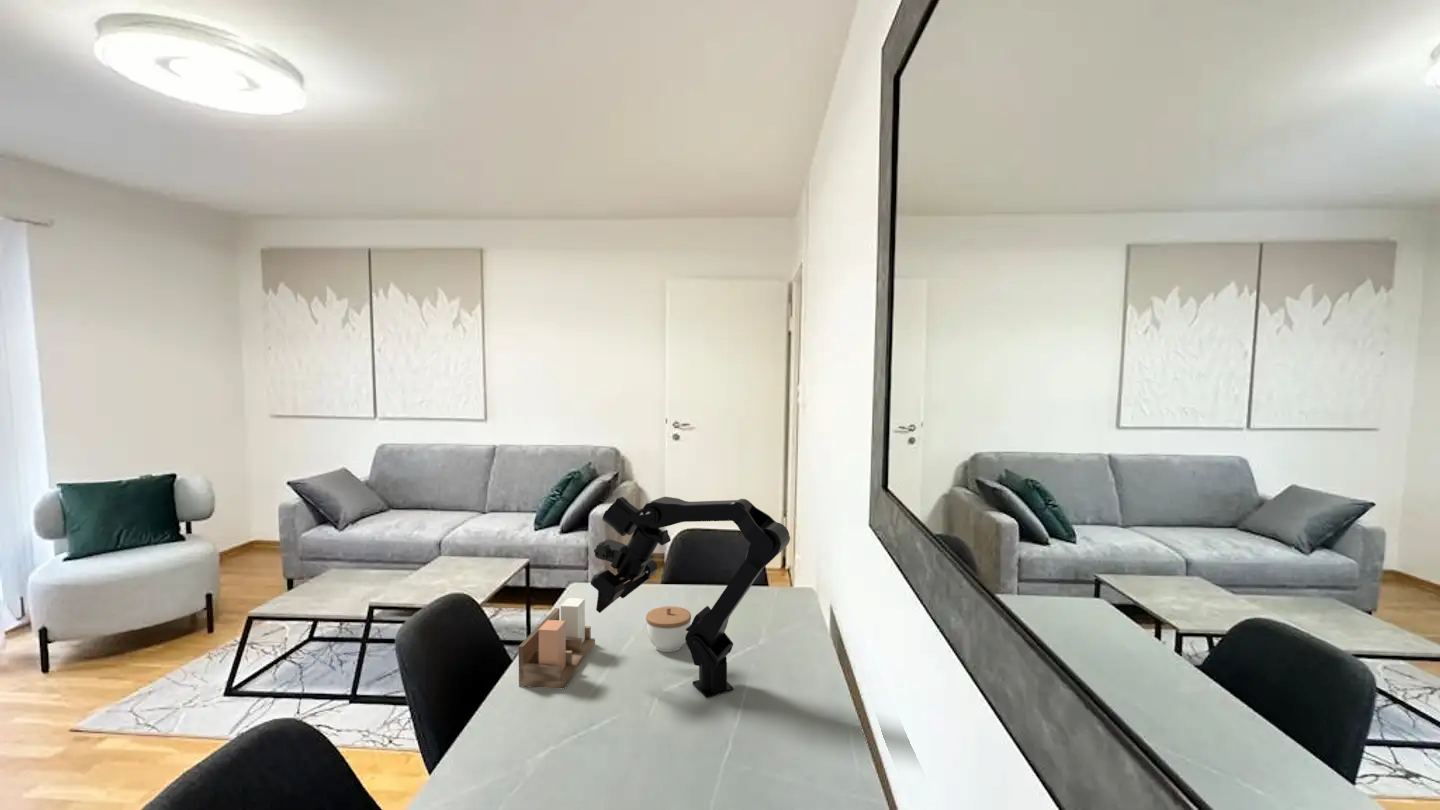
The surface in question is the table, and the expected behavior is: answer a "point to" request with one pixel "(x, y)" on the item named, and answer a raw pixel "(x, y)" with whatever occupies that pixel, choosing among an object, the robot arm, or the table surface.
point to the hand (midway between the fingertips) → (610, 603)
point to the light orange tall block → (552, 643)
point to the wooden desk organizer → (545, 673)
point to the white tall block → (574, 617)
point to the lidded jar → (668, 627)
